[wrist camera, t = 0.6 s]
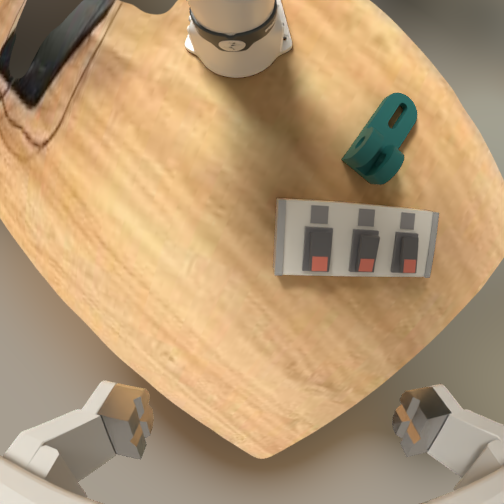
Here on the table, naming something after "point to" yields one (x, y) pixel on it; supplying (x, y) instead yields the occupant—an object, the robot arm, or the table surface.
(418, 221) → the power strip
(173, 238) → the table surface
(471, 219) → the table surface
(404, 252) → the rocker
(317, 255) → the rocker
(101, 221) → the table surface
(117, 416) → the robot arm
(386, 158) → the bracket
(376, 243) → the rocker
